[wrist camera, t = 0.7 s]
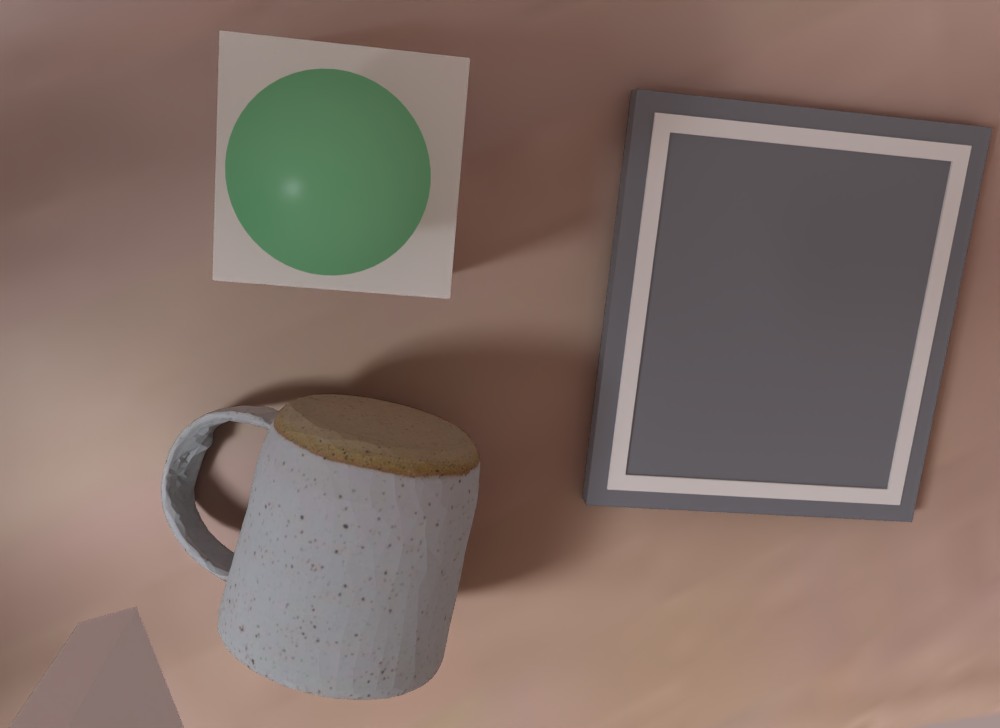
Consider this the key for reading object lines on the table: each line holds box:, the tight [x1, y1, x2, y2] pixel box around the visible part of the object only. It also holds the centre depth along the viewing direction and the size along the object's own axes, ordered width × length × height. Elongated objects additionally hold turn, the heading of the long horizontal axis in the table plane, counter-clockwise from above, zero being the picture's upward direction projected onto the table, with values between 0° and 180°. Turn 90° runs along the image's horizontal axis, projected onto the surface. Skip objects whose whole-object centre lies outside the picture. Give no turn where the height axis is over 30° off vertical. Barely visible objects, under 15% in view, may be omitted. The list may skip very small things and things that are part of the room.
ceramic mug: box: [161, 394, 481, 700], centre depth 31 cm, size 11×8×8 cm
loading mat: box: [582, 89, 992, 522], centre depth 34 cm, size 13×15×1 cm
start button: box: [225, 68, 431, 276], centre depth 24 cm, size 5×5×2 cm
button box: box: [212, 30, 470, 299], centre depth 29 cm, size 7×7×5 cm
